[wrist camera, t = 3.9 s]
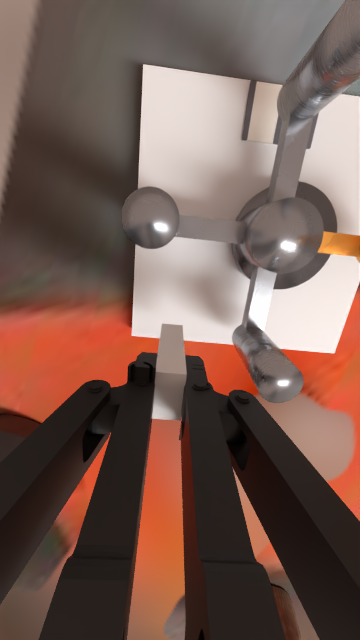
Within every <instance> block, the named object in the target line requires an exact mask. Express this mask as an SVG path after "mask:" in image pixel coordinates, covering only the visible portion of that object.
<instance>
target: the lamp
mask: <svg viewBox="0 0 360 640" xmlns="http://www.w3.org/2000/svg"><path fill="white" fill-rule="evenodd" d="M271 587H272V591H273V594H274V598H275V602H276V605H277V609H278V613H279V616H280V620H281V624H282V627H283V631H284V635H285V638H286V640H301V636H300V631H299V628H298V624H297V621H296V616H295V611H294V607H293V604H292V601H291V599H290V597H289V595H288V593H287V592H285V591H284V590H283V589H281V588H279V587H277V586H273V585H271Z"/></svg>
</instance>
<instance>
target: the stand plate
mask: <svg viewBox="0 0 360 640" xmlns="http://www.w3.org/2000/svg"><path fill="white" fill-rule="evenodd" d="M282 86H283V85H278V84H271V83H265V82H258V81H254V80H245V79H238V78H231V77H225V76H218V75H211V74H205V73H198V72H191V71H185V70H178V69H171V68H165V67H158V66H151V65H145V64H143V82H142V105H141V129H140V152H139V175H138V189H139V188H142V187H147V186H151V187H157V188H160V189H162V190H164V191H165V192H167V193H168V194H169V195H170V196H171V197H172V198H173V200H174V201H175V203H176V205H177V207H178V211H179V215H187V216H196V217H204V218H213V219H221V220H230V221H236V218H237V216H238V214H239V213H240V211H241V210H242V208H243V207H244V206H245V204H246V203H247V202H248V201H249V200H250V199H251V198H252V197H253V196H255V195H256V194H257V193H259V192H261V191H262V190H264V189H266V188H268V187H269V186H270V181H271V176H272V171H273V166H274V161H275V156H276V151H277V146H278V141H279V136H280V131H281V126H282V120H281V118H280V117H279V114H278V111H277V98H278V94H279V92H280V89H281V88H282ZM299 181H300V182H305V183H308V184H311V185H313V186H315V187H316V188H318V189H319V190H321V191H322V192H323V193H324V194H325V195H326V196H327V197H328V199H329V200H330V202H331V203H332V206H333V208H334V210H335V214H336V218H337V233H342V234H351V235H359V236H360V97H358V96H352V95H345V94H340V95H339V96H338V97H336V98H335V99H334V100H333V101H332V102H330V103H329V104H328V105H327V106H326V107H324V108H323V109H322V110H321V111H320V112H318V113H317V114H316V115H315V116H314V118H313V122H312V126H311V130H310V135H309V139H308V143H307V147H306V152H305V156H304V160H303V164H302V169H301V173H300V177H299ZM359 282H360V263H359V262H358V261H357V259H356V257H354V256H345V255H336V254H331V255H330V257H329V259H328V260H327V262H326V263H325V265H324V266H323V267H322V269H321V270H320V271H319V272H318V273H317V274H316V275H314V276H313V277H312V278H311V279H309V280H308V281H306V282H304V283H302V284H300V285H298V286H295V287H293V288H288V289H273V292H272V296H271V300H270V305H269V309H268V313H267V317H266V322H265V326H264V330H263V331H264V332H265V333H266V334H267V336H268V337H269V338H270V339H271V340H272V341H273V342H274V343H275V344H276V345H277V346H278V348H279V349H289V350H301V351H313V352H324V353H335V350H336V347H337V344H338V342H339V339H340V336H341V333H342V330H343V327H344V324H345V322H346V319H347V316H348V313H349V310H350V307H351V304H352V302H353V299H354V296H355V293H356V290H357V287H358V285H359ZM249 285H250V279H248V278H247V277H246V276H245V275H244V274H243V273H242V272H241V271H240V270H239V268H238V266H237V265H236V263H235V260H234V258H233V254H232V248H231V243H227V242H218V241H209V240H200V239H191V238H182V237H174V238H173V239H172V240H171V241H170V242H169V243H168V244H167V245H165V246H163V247H161V248H157V249H146V248H143V247H140V246H138V245H136V246H135V269H134V292H133V316H132V336H140V337H151V338H160V334H161V326H162V323H163V324H174V325H183V337H184V340H186V341H197V342H209V343H220V344H232V345H234V344H233V342H232V334H233V332H234V330H235V329H236V328H237V327H238V326H239V325H241V324H242V320H243V315H244V310H245V305H246V300H247V295H248V290H249Z"/></svg>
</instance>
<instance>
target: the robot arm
mask: <svg viewBox="0 0 360 640" xmlns="http://www.w3.org/2000/svg"><path fill="white" fill-rule="evenodd" d="M181 415H182V421H181V428H180V436H179V440H181V461H182V462H181V463H182V498H183V535H184V571H185V607H186V626H185V640H286V638H285V635H284V631H283V627H282V624H281V620H280V616H279V613H278V609H277V605H276V602H275V598H274V594H273V591H272V587H271V584H270V581H269V578H268V575H267V572H266V570H265V568H264V567H263V565H262V564H260V563H258V562H257V561H256V559H255V557H254V554H253V550H252V546H251V542H250V537H249V534H248V529H247V525H246V521H245V517H244V513H243V509H242V505H241V501H240V497H239V493H238V489H237V485H236V481H235V476H234V472H233V469H234V471H235V472H236V475H237V477H238V479H239V481H240V483H241V485H242V487H243V489H244V491H245V493H246V495H247V497H248V498H249V501H250V502H251V504H252V506H253V508H254V510H255V512H256V514H257V516H258V518H259V520H260V522H261V524H262V526H263V528H264V530H265V532H266V534H267V536H268V538H269V540H270V542H271V544H272V546H273V548H274V550H275V552H276V554H277V556H278V558H279V560H280V562H281V564H282V566H283V568H284V570H285V572H286V574H287V576H288V578H289V580H290V582H291V584H292V586H293V588H294V590H295V592H296V594H297V596H298V598H299V600H300V602H301V604H302V606H303V608H304V610H305V612H306V613H307V615H308V617H309V619H310V621H311V623H312V625H313V627H314V629H315V631H316V633H317V635H318V637H319V639H320V640H360V521H359V520H358V519H357V518H356V516H355V515H354V514H353V513H352V512H351V511H350V509H349V508H348V507H347V506H346V505H345V503H344V502H343V501H342V500H341V499H340V497H339V496H338V495H337V494H336V493H335V492H334V490H333V489H332V488H331V487H330V486H329V484H328V483H327V482H326V481H325V480H324V478H323V477H322V476H321V475H320V474H319V473H318V471H317V470H316V469H315V468H314V467H313V465H312V464H311V463H310V462H309V461H308V460H307V458H306V457H305V456H304V455H303V454H302V452H301V451H300V450H299V449H298V448H297V446H296V445H295V444H294V443H293V442H292V440H291V439H290V438H289V437H288V436H287V435H286V433H285V432H284V431H283V430H282V429H281V427H280V426H279V425H278V424H277V423H276V421H275V420H274V419H273V418H272V417H271V416H270V414H269V413H268V412H267V411H266V410H265V408H264V407H263V406H262V405H261V404H260V403H259V401H258V400H257V399H256V398H255V397H254V396H253V395H252V394H250V393H248V392H246V391H243V390H233V391H231V392H230V393H229V396H226V395H223V394H220V393H217V392H215V391H214V390H213V387H212V385H211V384H210V383H209V382H208V380H207V376H206V371H205V367H204V362H203V360H202V359H201V358H200V357H199V356H188V355H185V348H184V337H183V325H174V324H163V323H162V326H161V334H160V341H159V348H158V354H157V353H145V352H142V353H141V354H139V355H138V356H137V360H136V361H134V362H132V363H130V364H129V366H128V381H127V384H125V385H122V386H119V387H112V388H111V387H110V384H109V383H108V382H106V381H103V380H92V381H89V382H86V383H85V384H83V385H82V386H81V387H80V388H79V389H78V390H77V391H76V392H74V393H73V394H72V395H71V396H70V397H69V398H68V399H67V400H66V401H65V402H64V403H63V404H62V405H61V406H60V407H59V408H58V409H56V410H55V411H54V412H53V413H52V414H51V415H50V416H49V417H48V418H47V419H46V420H45V421H44V422H43V423H42V424H39V423H37V422H34V421H32V420H29V419H26V418H23V417H19V416H14V415H7V414H0V604H1V603H2V601H3V600H4V598H5V597H6V595H7V594H8V592H9V590H10V589H11V587H12V586H13V584H14V583H15V581H16V580H17V578H18V577H19V575H20V573H21V572H22V570H23V569H24V567H25V566H26V564H27V563H28V561H29V560H30V558H31V556H32V555H33V553H34V552H35V550H36V549H37V547H38V546H39V544H40V542H41V541H42V539H43V538H44V536H45V535H46V533H47V532H48V530H49V529H50V527H51V525H52V524H53V522H54V521H55V519H56V518H57V516H58V515H59V513H60V512H61V510H62V508H63V507H64V505H65V504H66V502H67V501H68V499H69V498H70V496H71V495H72V493H73V491H74V490H75V488H76V487H77V485H78V484H79V482H80V481H81V479H82V477H83V476H84V474H85V473H86V471H87V470H88V468H89V467H90V465H91V464H92V462H93V460H94V459H95V457H96V456H97V454H98V453H99V451H100V450H101V448H102V447H103V445H104V443H105V442H106V440H107V439H108V437H109V435H110V433H111V436H110V439H109V442H108V445H107V448H106V451H105V455H104V458H103V461H102V465H101V467H100V471H99V474H98V477H97V480H96V484H95V487H94V490H93V493H92V496H91V500H90V503H89V506H88V509H87V512H86V516H85V519H84V522H83V525H82V528H81V532H80V535H79V538H78V541H77V544H76V547H75V550H74V552H73V554H72V556H70V557H69V558H68V559H67V561H66V563H65V564H64V567H63V569H62V572H61V575H60V577H59V580H58V583H57V586H56V590H55V592H54V595H53V598H52V601H51V604H50V607H49V610H48V613H47V617H46V619H45V622H44V626H43V628H42V632H41V635H40V638H39V640H127V633H128V623H129V613H130V605H131V596H132V588H133V578H134V571H135V562H136V553H137V545H138V536H139V528H140V519H141V510H142V501H143V492H144V484H145V476H146V467H147V459H148V450H149V441H150V433H151V423H152V419H166V420H181ZM232 467H233V468H232Z"/></svg>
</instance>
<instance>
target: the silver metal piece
mask: <svg viewBox="0 0 360 640" xmlns="http://www.w3.org/2000/svg"><path fill="white" fill-rule="evenodd" d="M359 78H360V0H345V2H344V3H343V4H342V6H341V7H340V8H339V10H338V11H337V13H336V14H335V15H334V17H333V18H332V19H331V21H330V22H329V23H328V25H327V26H326V27H325V29H324V30H323V32H322V33H321V34H320V36H319V37H318V38H317V40H316V41H315V42H314V44H313V45H312V47H311V48H310V49H309V51H308V52H307V53H306V55H305V56H304V57H303V59H302V60H301V61H300V63H299V64H298V66H297V67H296V68H295V70H294V71H293V72H292V74H291V75H290V76H289V78H288V79H287V80H286V82H285V83H284V85H283V86H282V88H281V89H280V92H279V94H278V98H277V111H278V114H279V117H280V118H281V120H282V126H281V131H280V136H279V141H278V146H277V151H276V156H275V161H274V166H273V171H272V176H271V181H270V186H269V187H268V188H266V189H264V190H262V191H261V192H259V193H257V194H256V195H255V196H253V197H252V198H251V199H250V200H249V201H248V202H247V203H246V204H245V206H244V207H243V208H242V210H241V211H240V213H239V214H238V216H237V218H236V221H230V220H221V219H213V218H204V217H196V216H187V215H179V211H178V207H177V205H176V203H175V201H174V200H173V198H172V197H171V196H170V195H169V194H168V193H167V192H165V191H164V190H162V189H160V188H157V187H151V186H147V187H142V188H139V189H137V190H135V191H134V192H132V193H131V194H130V195H129V196H128V198H127V199H126V201H125V203H124V205H123V208H122V215H121V218H122V225H123V228H124V231H125V233H126V234H127V236H128V237H129V238H130V240H131V241H132V242H134V243H135V244H136V245H138V246H140V247H143V248H146V249H157V248H161V247H163V246H165V245H167V244H168V243H169V242H170V241H171V240H172V239H173V238H174V237H182V238H191V239H200V240H209V241H218V242H227V243H231V248H232V254H233V258H234V260H235V263H236V265H237V266H238V268H239V270H240V271H241V272H242V273H243V274H244V275H245V276H246V277H247V278H248V279H250V285H249V290H248V295H247V300H246V305H245V310H244V315H243V320H242V324H241V325H239V326H238V327H237V328H236V329H235V330H234V332H233V334H232V342H233V344H234V346H235V348H236V350H237V352H238V354H239V356H240V357H241V359H242V361H243V363H244V365H245V367H246V369H247V371H248V372H249V374H250V376H251V378H252V380H253V382H254V384H255V385H256V387H257V389H258V391H259V393H260V395H261V396H262V397H263V398H264V399H265V400H267V401H269V402H273V403H283V402H286V401H289V400H291V399H293V398H294V397H295V396H296V395H297V394H298V393H299V392H300V391H301V389H302V386H303V376H302V373H301V372H300V371H299V369H298V368H297V367H296V366H295V365H294V364H293V363H292V362H291V361H290V360H289V359H288V357H287V356H286V355H285V354H284V353H283V352H282V351H281V350H280V349H279V348H278V346H277V345H276V344H275V343H274V342H273V341H272V340H271V339H270V338H269V337H268V336H267V334H266V333H265V332H264V331H263V330H264V326H265V322H266V317H267V313H268V309H269V305H270V300H271V296H272V292H273V289H288V288H293V287H295V286H298V285H300V284H302V283H304V282H306V281H308V280H309V279H311V278H312V277H313V276H314V275H316V274H317V273H318V272H319V271H320V270H321V269H322V267H323V266H324V265H325V263H326V262H327V260H328V259H329V257H330V255H331V254H336V255H345V256H354V257H356V259H357V261H358V262H359V263H360V236H359V235H351V234H342V233H337V218H336V214H335V210H334V208H333V206H332V203H331V202H330V200H329V199H328V197H327V196H326V195H325V194H324V193H323V192H322V191H321V190H319V189H318V188H316V187H315V186H313V185H311V184H308V183H305V182H300V181H299V177H300V173H301V169H302V164H303V160H304V156H305V152H306V147H307V143H308V139H309V135H310V130H311V126H312V122H313V118H314V116H315V115H316V114H317V113H318V112H320V111H321V110H322V109H323V108H324V107H326V106H327V105H328V104H329V103H330V102H332V101H333V100H334V99H335V98H336V97H338V96H339V95H340V94H341V93H342V92H344V91H345V90H346V89H347V88H348V87H349V86H351V85H352V84H353V83H354V82H355V81H357V80H358V79H359Z"/></svg>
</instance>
